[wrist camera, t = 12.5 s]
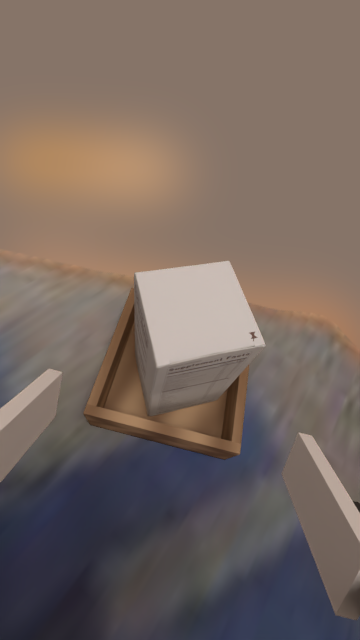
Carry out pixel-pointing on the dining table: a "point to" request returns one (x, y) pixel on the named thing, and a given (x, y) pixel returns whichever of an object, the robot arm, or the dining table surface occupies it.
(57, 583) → the dining table surface
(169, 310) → the supplement box
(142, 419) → the oak crate
